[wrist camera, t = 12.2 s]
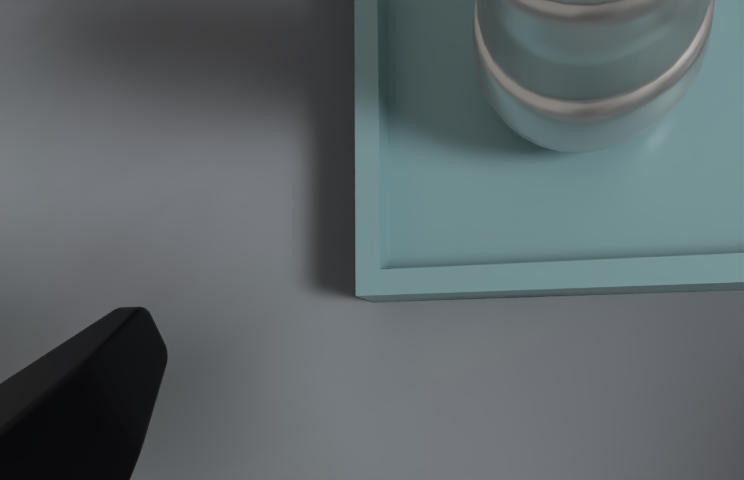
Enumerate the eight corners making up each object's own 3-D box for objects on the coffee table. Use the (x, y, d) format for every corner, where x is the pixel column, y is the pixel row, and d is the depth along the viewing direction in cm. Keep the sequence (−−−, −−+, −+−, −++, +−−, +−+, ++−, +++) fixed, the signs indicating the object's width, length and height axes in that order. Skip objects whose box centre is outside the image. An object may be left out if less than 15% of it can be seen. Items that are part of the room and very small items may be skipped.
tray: (863, 285, 20) (899, 276, 18) (373, 302, 24) (355, 295, 21) (802, -160, 23) (827, -214, 20) (370, -83, 26) (353, -122, 24)
